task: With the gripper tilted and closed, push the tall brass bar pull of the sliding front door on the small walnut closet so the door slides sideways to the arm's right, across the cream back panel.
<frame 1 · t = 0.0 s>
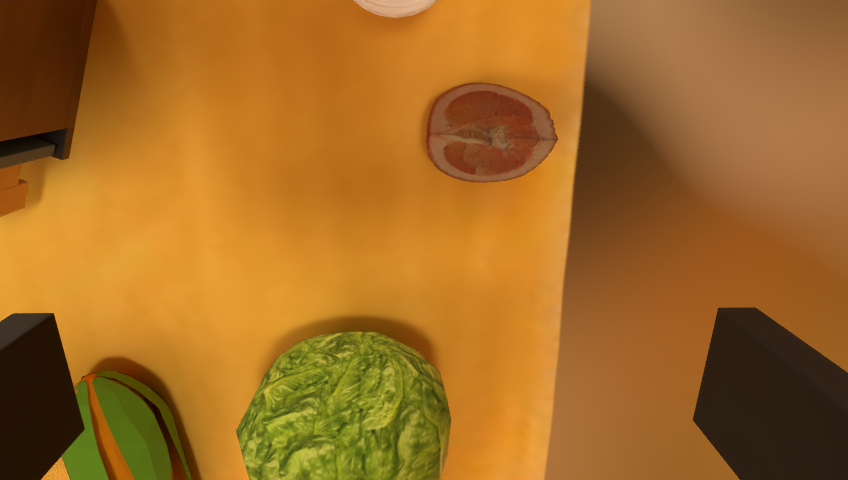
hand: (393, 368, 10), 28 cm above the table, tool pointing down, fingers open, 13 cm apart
lettuce: (368, 423, 45), on the table
corn: (158, 445, 45), on the table
fruit slice: (481, 130, 36), on the table
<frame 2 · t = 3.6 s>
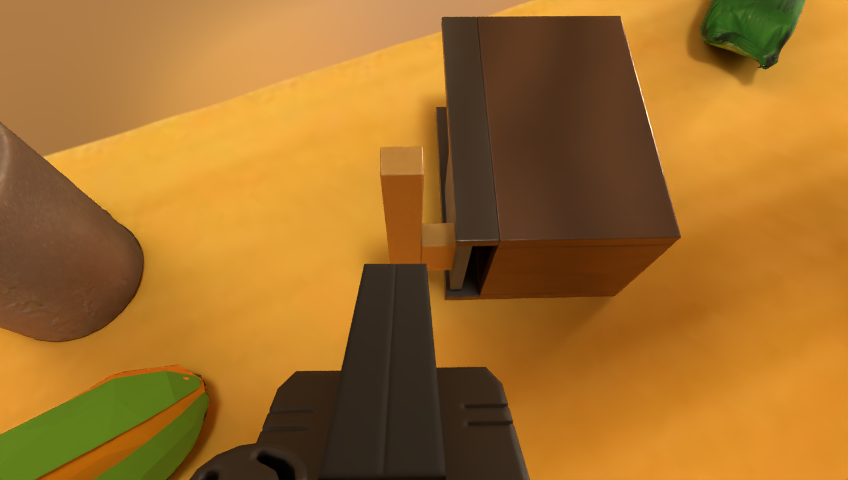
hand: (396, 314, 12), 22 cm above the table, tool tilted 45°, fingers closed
snack package: (738, 25, 49), on the table
pillar candle: (77, 279, 36), on the table
sliding door: (427, 189, 31), point 8 cm above the table, slide at 0.0 cm
closet: (532, 196, 40), on the table
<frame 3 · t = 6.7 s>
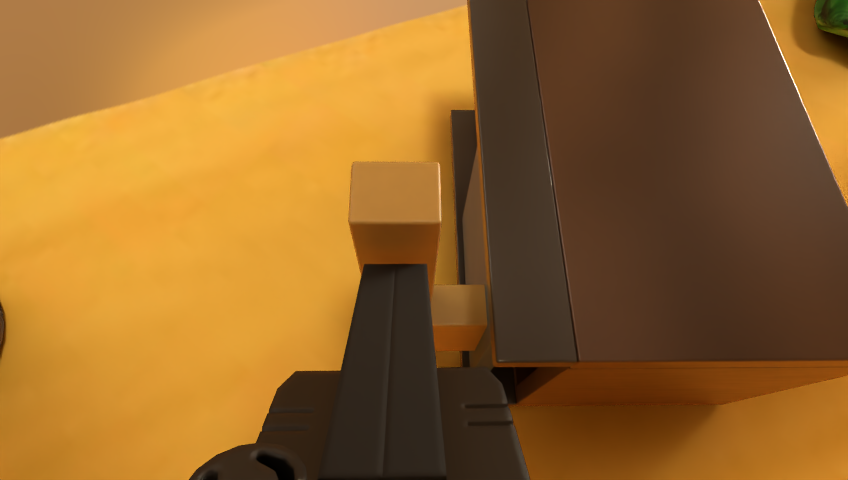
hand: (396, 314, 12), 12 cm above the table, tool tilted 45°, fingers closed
sliding door: (440, 228, 18), point 8 cm above the table, slide at 0.8 cm, touching gripper
closet: (590, 242, 27), on the table
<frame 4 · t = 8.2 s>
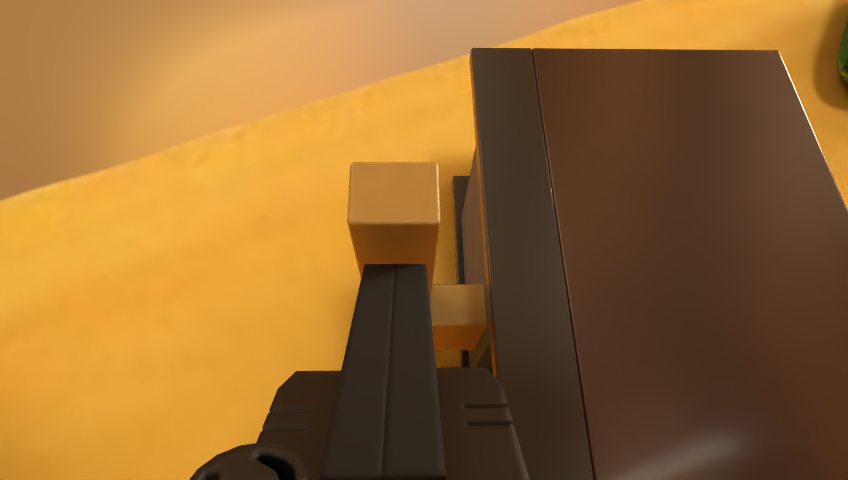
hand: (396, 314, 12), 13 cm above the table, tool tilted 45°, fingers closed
sliding door: (439, 228, 18), point 8 cm above the table, slide at 5.5 cm, touching gripper
closet: (604, 325, 25), on the table
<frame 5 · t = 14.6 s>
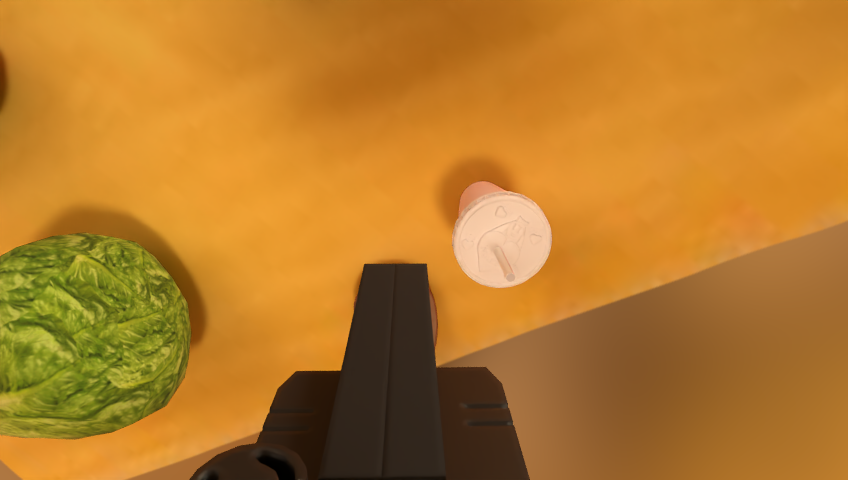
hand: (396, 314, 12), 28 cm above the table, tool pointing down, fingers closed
lettuce: (83, 321, 44), on the table
smoothie: (481, 202, 41), on the table
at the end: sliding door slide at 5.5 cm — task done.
